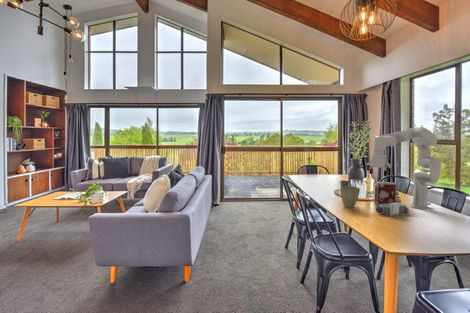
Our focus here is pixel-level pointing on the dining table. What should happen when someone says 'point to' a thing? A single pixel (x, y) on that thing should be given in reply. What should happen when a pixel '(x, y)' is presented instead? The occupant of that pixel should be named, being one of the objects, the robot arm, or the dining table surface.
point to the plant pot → (349, 195)
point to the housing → (386, 209)
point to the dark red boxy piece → (386, 193)
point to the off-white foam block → (394, 208)
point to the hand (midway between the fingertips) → (377, 174)
